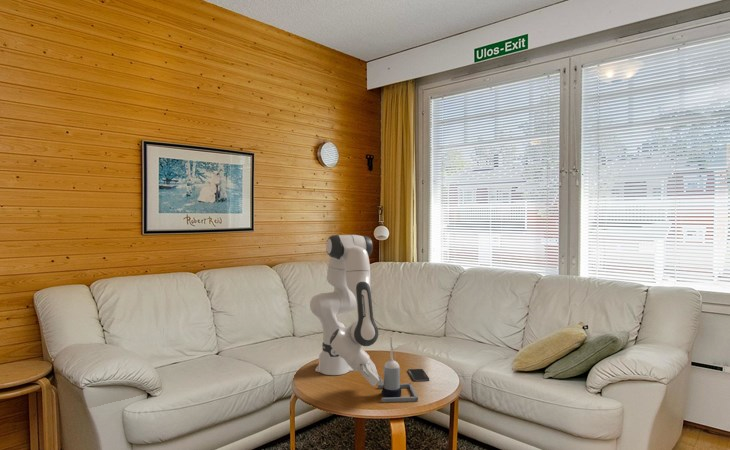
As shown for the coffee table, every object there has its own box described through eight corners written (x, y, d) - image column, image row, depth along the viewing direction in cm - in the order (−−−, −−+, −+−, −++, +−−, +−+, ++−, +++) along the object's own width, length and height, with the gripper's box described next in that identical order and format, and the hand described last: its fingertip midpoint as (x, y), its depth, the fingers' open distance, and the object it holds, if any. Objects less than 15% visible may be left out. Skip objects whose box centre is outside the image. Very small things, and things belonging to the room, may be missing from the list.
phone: (413, 380, 210) (407, 369, 225) (413, 382, 210) (407, 371, 225) (430, 379, 211) (422, 368, 226) (430, 382, 211) (422, 371, 226)
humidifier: (379, 392, 198) (380, 334, 197) (398, 390, 199) (398, 333, 199) (384, 399, 190) (385, 339, 189) (403, 397, 191) (403, 338, 191)
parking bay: (377, 387, 202) (377, 384, 202) (411, 386, 204) (411, 383, 204) (381, 402, 187) (381, 398, 187) (417, 401, 188) (417, 397, 188)
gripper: (366, 363, 183) (390, 387, 184) (363, 349, 204) (385, 370, 205) (355, 374, 183) (379, 398, 184) (353, 359, 203) (375, 380, 204)
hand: (382, 383), depth 194 cm, fingers closed, pressing on humidifier
